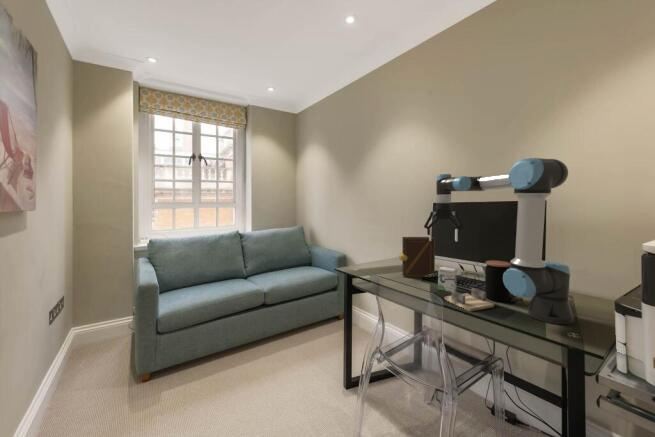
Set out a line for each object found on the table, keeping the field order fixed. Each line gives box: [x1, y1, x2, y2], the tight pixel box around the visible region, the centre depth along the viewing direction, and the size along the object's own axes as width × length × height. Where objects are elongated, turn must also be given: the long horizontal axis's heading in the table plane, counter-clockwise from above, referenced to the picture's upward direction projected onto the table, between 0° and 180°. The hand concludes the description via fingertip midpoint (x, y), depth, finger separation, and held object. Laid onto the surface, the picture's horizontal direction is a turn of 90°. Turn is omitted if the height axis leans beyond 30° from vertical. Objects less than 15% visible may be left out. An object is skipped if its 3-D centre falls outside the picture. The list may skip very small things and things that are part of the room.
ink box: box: [437, 266, 458, 293], centre depth 156 cm, size 9×5×12 cm, turn 51°
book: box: [398, 236, 436, 279], centre depth 184 cm, size 22×8×25 cm, turn 82°
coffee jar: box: [484, 259, 511, 303], centre depth 141 cm, size 11×11×18 cm
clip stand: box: [444, 287, 495, 312], centre depth 136 cm, size 16×14×6 cm
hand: (443, 241), depth 159 cm, fingers open, 13 cm apart
